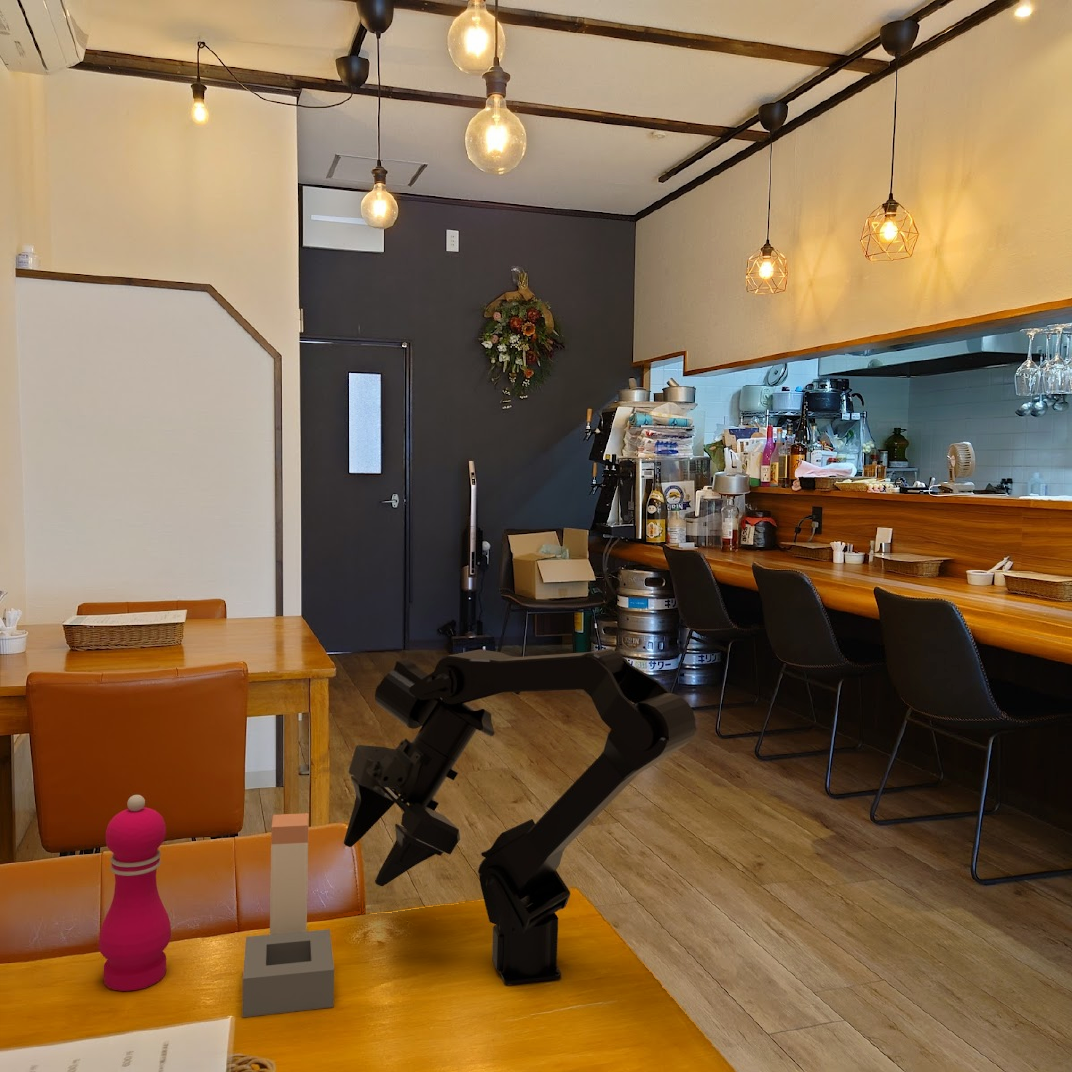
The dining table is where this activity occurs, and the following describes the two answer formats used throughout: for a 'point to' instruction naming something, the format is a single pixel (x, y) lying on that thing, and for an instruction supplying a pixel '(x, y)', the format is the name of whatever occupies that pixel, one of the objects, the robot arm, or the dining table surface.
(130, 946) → the pepper mill
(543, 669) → the robot arm
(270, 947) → the socket block
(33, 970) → the dining table surface
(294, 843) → the plug
